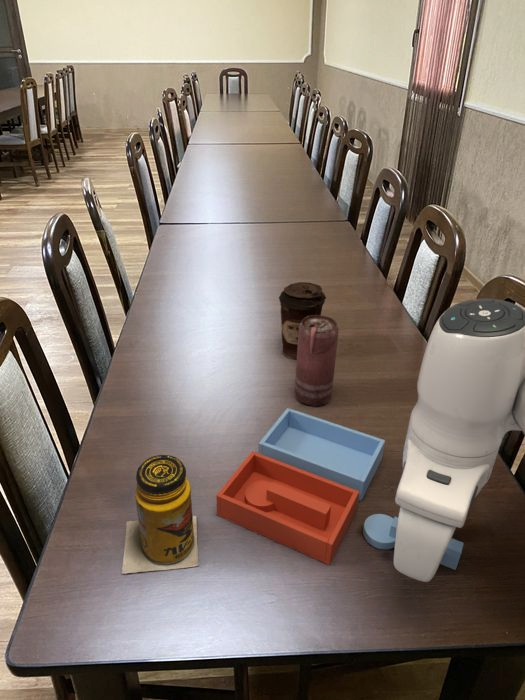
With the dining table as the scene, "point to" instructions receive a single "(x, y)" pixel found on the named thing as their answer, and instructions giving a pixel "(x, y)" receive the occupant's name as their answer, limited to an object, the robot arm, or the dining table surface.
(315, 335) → the can
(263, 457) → the red bin
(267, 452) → the blue bin
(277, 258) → the dining table surface
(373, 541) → the blue spoon
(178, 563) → the condiment
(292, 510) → the red spoon
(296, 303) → the coffee cup
